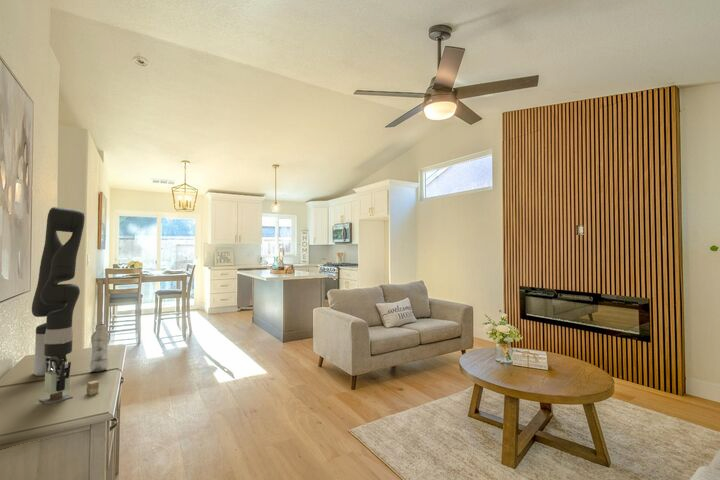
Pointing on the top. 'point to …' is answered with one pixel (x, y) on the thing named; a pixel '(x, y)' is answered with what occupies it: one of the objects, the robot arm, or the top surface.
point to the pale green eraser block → (53, 383)
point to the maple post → (92, 387)
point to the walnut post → (55, 398)
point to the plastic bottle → (99, 348)
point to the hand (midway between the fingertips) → (56, 388)
